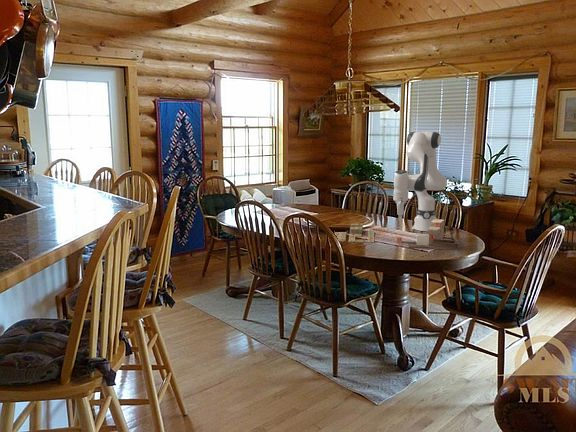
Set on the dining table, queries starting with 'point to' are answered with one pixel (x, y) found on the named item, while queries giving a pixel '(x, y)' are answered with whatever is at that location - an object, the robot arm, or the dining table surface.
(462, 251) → the dining table surface
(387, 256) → the dining table surface
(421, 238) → the block
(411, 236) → the dining table surface
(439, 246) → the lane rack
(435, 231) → the stack of blocks
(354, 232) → the pile of dominoes
